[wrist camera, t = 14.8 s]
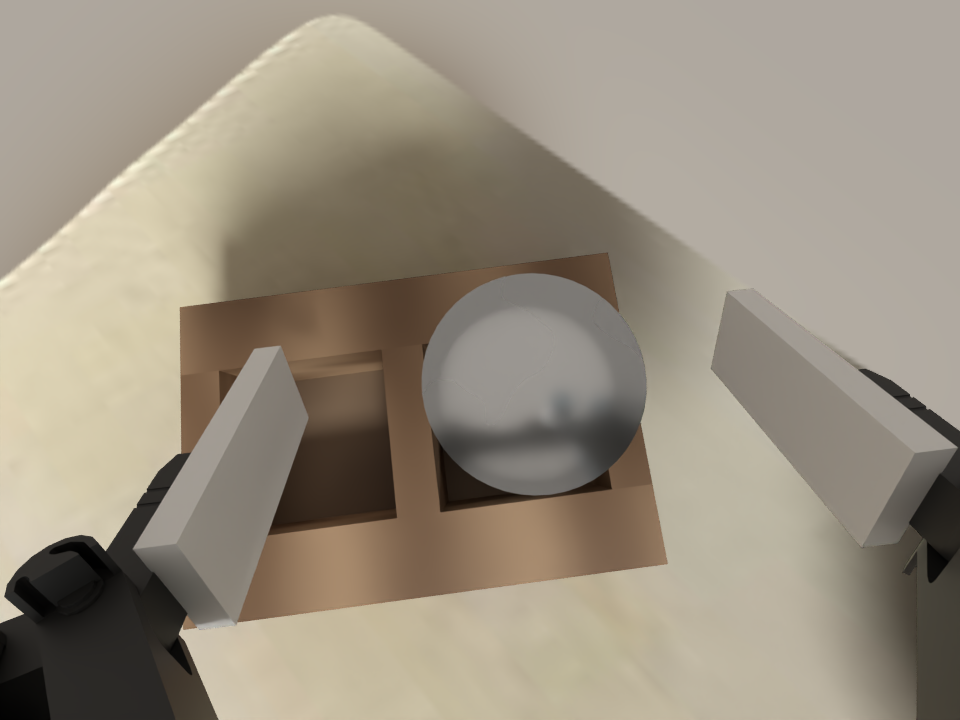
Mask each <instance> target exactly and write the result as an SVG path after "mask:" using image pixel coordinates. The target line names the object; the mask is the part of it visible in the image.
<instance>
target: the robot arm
mask: <svg viewBox="0 0 960 720" xmlns="http://www.w3.org/2000/svg"><path fill="white" fill-rule="evenodd" d="M711 369H712V370H713V372H714V373H715V374H716V375H717V376H718V377H719V379H720V380H721V381H722V382H723V383H724V385H725V386H726V387H727V388H728V389H729V391H730V392H731V393H732V394H733V395H734V397H735V398H736V399H737V400H738V401H739V403H740V404H741V405H742V406H743V407H744V408H745V410H746V411H747V412H748V413H749V414H750V416H751V417H752V418H753V419H754V420H755V422H756V423H757V424H758V425H759V426H760V428H761V429H762V430H763V431H764V432H765V434H766V435H767V436H768V437H769V438H770V439H771V441H772V442H773V443H774V444H775V445H776V447H777V448H778V449H779V450H780V451H781V453H782V454H783V455H784V456H785V457H786V459H787V460H788V461H789V462H790V463H791V464H792V466H793V467H794V468H795V469H796V470H797V472H798V473H799V474H800V475H801V476H802V478H803V479H804V480H805V481H806V482H807V484H808V485H809V486H810V487H811V488H812V490H813V491H814V492H815V493H816V494H817V495H818V497H819V498H820V499H821V500H822V501H823V503H824V504H825V505H826V506H827V507H828V509H829V510H830V511H831V512H832V513H833V515H834V516H835V517H836V518H837V519H838V521H839V522H840V523H841V524H842V525H843V526H844V528H845V529H846V530H847V531H848V532H849V534H850V535H851V536H852V537H853V538H854V540H855V541H856V542H857V543H858V544H859V546H860V547H861V548H864V547H872V546H880V545H888V544H896V543H898V542H899V540H900V539H901V537H902V536H903V534H904V532H905V531H906V529H907V528H908V526H909V525H911V526H912V527H913V528H914V529H915V530H916V531H917V532H918V533H919V534H920V535H921V536H922V537H923V540H922V541H921V543H920V544H919V545H918V547H917V548H916V550H915V551H914V553H913V554H912V556H911V557H910V559H909V560H908V562H907V563H906V565H905V567H904V570H903V572H902V573H905V574H907V575H910V573H911V572H912V570H913V569H914V568H915V567H917V720H960V431H959V430H957V429H956V428H955V427H953V426H952V425H951V424H949V423H948V422H947V421H945V420H944V419H942V418H941V417H940V416H938V415H937V414H936V413H934V412H933V411H932V410H930V409H929V410H927V409H926V406H925V405H924V404H922V403H921V402H920V401H918V400H917V399H916V398H914V397H913V398H911V397H910V394H909V393H907V392H906V391H905V390H903V389H902V388H901V387H899V386H898V385H897V384H895V383H894V382H893V381H891V380H889V379H887V378H885V377H883V376H881V375H878V374H876V373H874V372H872V371H870V370H867V369H860V370H857V369H856V368H855V367H853V366H852V365H851V364H850V363H848V362H847V361H846V360H844V359H843V358H842V357H841V356H839V355H838V354H837V353H835V352H834V351H833V350H832V349H830V348H829V347H828V346H826V345H825V344H824V343H823V342H821V341H820V340H819V339H817V338H816V337H815V336H814V335H812V334H811V333H810V332H808V331H807V330H806V329H805V328H803V327H802V326H801V325H799V324H798V323H797V322H796V321H794V320H793V319H792V318H790V317H789V316H788V315H787V314H785V313H784V312H783V311H781V310H780V309H779V308H778V307H776V306H775V305H774V304H772V303H771V302H770V301H769V300H767V299H766V298H765V297H763V296H762V295H761V294H760V293H758V292H757V291H756V290H754V289H753V288H752V289H743V290H735V291H727V294H726V299H725V303H724V308H723V313H722V318H721V323H720V327H719V332H718V337H717V342H716V347H715V351H714V356H713V361H712V366H711ZM308 418H309V417H308V414H307V412H306V409H305V407H304V404H303V401H302V399H301V396H300V394H299V391H298V389H297V386H296V384H295V381H294V378H293V376H292V373H291V371H290V368H289V366H288V363H287V360H286V358H285V355H284V353H283V350H282V348H281V346H273V347H265V348H257V349H254V350H253V352H252V354H251V355H250V357H249V359H248V360H247V362H246V364H245V365H244V367H243V369H242V370H241V372H240V373H239V375H238V377H237V378H236V380H235V382H234V383H233V385H232V387H231V388H230V390H229V392H228V393H227V395H226V397H225V398H224V400H223V401H222V403H221V405H220V406H219V408H218V410H217V411H216V413H215V415H214V416H213V418H212V420H211V421H210V423H209V424H208V426H207V428H206V429H205V431H204V433H203V434H202V436H201V438H200V439H199V441H198V443H197V444H196V446H195V448H194V449H193V451H192V452H191V453H183V454H177V455H176V456H175V457H174V458H173V459H172V460H171V461H169V462H168V463H167V464H166V465H165V466H164V467H163V468H162V469H160V470H159V471H158V473H157V474H156V476H155V477H154V479H153V481H152V482H151V484H150V485H149V487H148V488H147V493H144V494H143V496H142V497H141V499H140V500H139V502H138V503H137V508H134V509H133V511H132V512H131V514H130V515H129V517H128V518H127V520H126V522H125V523H124V525H123V526H122V528H121V529H120V531H119V532H118V534H117V535H116V537H115V538H114V540H113V541H112V543H111V544H110V546H109V547H108V549H107V550H106V551H105V550H104V549H103V548H102V547H101V546H100V545H99V543H98V542H97V541H96V540H95V539H94V538H93V537H91V536H84V535H79V536H74V537H69V538H65V539H63V540H61V541H58V542H56V543H54V544H52V545H49V546H48V547H46V548H44V549H43V550H41V551H40V552H38V553H37V554H35V555H34V556H32V557H31V558H30V559H29V560H28V561H27V562H26V563H25V564H23V565H22V566H21V567H20V568H19V569H18V570H17V571H16V573H15V574H14V576H13V577H12V578H11V580H10V581H9V583H8V584H7V588H6V592H5V596H4V597H5V598H6V599H7V600H9V601H10V602H11V603H12V604H13V605H14V606H16V607H17V608H18V609H19V610H20V611H22V612H23V613H24V614H23V615H21V616H18V617H15V618H13V619H10V620H8V621H5V622H2V623H0V720H218V718H217V715H216V713H215V711H214V708H213V706H212V704H211V701H210V699H209V697H208V694H207V692H206V690H205V687H204V685H203V683H202V680H201V678H200V676H199V673H198V671H197V669H196V666H195V664H194V662H193V659H192V657H191V655H190V652H189V650H188V648H187V645H186V643H185V641H184V640H183V639H182V638H181V637H180V635H179V632H180V630H181V627H182V625H183V623H184V621H185V618H186V616H188V617H189V618H190V619H191V621H192V622H193V623H194V624H195V625H196V627H197V628H198V629H199V630H203V629H211V628H219V627H227V626H235V625H236V624H237V621H238V618H239V615H240V612H241V610H242V607H243V604H244V601H245V598H246V595H247V592H248V590H249V587H250V584H251V581H252V578H253V575H254V572H255V570H256V567H257V564H258V561H259V558H260V555H261V552H262V550H263V547H264V544H265V541H266V538H267V535H268V533H269V530H270V527H271V524H272V521H273V518H274V515H275V513H276V510H277V507H278V504H279V501H280V498H281V495H282V493H283V490H284V487H285V484H286V481H287V478H288V475H289V473H290V470H291V467H292V464H293V461H294V458H295V455H296V453H297V450H298V447H299V444H300V441H301V438H302V435H303V433H304V430H305V427H306V424H307V421H308Z"/></svg>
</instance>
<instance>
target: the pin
mask: <svg viewBox="0 0 960 720" xmlns="http://www.w3.org/2000/svg"><path fill="white" fill-rule="evenodd" d="M422 396H423V402H424V408H425V411H426V414H427V418H428V421H429V423H430V426H431V428H432V430H433V432H434V434H435V436H436V438H437V439H438V441H439V442H440V444H441V446H442V447H443V449H444V450H445V451H446V452H447V453H448V455H449V456H450V457H451V458H452V459H453V460H454V461H455V462H456V463H457V464H458V465H459V466H460V467H461V468H462V469H463V470H465V471H466V472H467V473H469V474H470V475H472V476H473V477H475V478H476V479H478V480H480V481H482V482H484V483H486V484H487V485H489V486H492V487H495V488H497V489H500V490H503V491H506V492H511V493H516V494H521V495H535V496H536V495H551V494H556V493H561V492H566V491H569V490H572V489H575V488H578V487H580V486H582V485H584V484H586V483H588V482H590V481H592V480H594V479H596V478H597V477H598V476H600V475H601V474H603V473H604V472H606V471H607V470H608V469H609V468H610V467H611V466H612V465H613V464H614V463H615V462H617V461H618V459H619V458H620V457H621V456H622V454H623V453H624V452H625V451H626V450H627V448H628V446H629V445H630V443H631V441H632V440H633V438H634V436H635V434H636V432H637V430H638V427H639V425H640V422H641V419H642V415H643V412H644V407H645V400H646V373H645V365H644V361H643V358H642V354H641V350H640V348H639V346H638V343H637V341H636V338H635V336H634V335H633V333H632V331H631V329H630V328H629V326H628V324H627V323H626V322H625V320H624V319H623V318H622V316H621V315H620V314H619V313H618V312H617V311H616V310H615V309H614V307H613V306H612V305H611V304H610V303H608V302H607V301H606V300H605V299H603V298H602V297H601V296H600V295H598V294H597V293H595V292H594V291H592V290H590V289H589V288H587V287H585V286H583V285H581V284H579V283H577V282H574V281H572V280H569V279H566V278H562V277H559V276H553V275H548V274H536V273H527V274H516V275H510V276H505V277H502V278H498V279H495V280H492V281H490V282H488V283H485V284H483V285H481V286H479V287H477V288H476V289H474V290H472V291H471V292H469V293H468V294H466V295H465V296H464V297H463V298H461V299H460V300H459V301H458V302H456V303H455V304H454V305H453V307H452V308H451V309H450V310H449V311H448V312H447V313H446V314H445V316H444V317H443V318H442V320H441V321H440V323H439V324H438V326H437V327H436V329H435V331H434V333H433V335H432V337H431V339H430V342H429V344H428V347H427V350H426V354H425V358H424V362H423V369H422Z"/></svg>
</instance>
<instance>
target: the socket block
mask: <svg viewBox="0 0 960 720" xmlns="http://www.w3.org/2000/svg"><path fill="white" fill-rule="evenodd" d="M527 273H536V274H548V275H553V276H559V277H562V278H566V279H569V280H572V281H574V282H577V283H579V284H581V285H583V286H585V287H587V288H589V289H590V290H592V291H594V292H595V293H597V294H598V295H600V296H601V297H602V298H603V299H605V300H606V301H607V302H608V303H610V304H611V305H612V306H613V307H614V309H615V310H616V311H617V312H618V313H619V309H618V304H617V298H616V293H615V288H614V283H613V278H612V273H611V267H610V262H609V257H608V253H601V254H593V255H585V256H577V257H569V258H562V259H554V260H546V261H538V262H530V263H522V264H515V265H507V266H499V267H491V268H483V269H476V270H468V271H460V272H452V273H444V274H437V275H429V276H421V277H413V278H405V279H397V280H390V281H382V282H374V283H366V284H358V285H351V286H343V287H335V288H327V289H319V290H312V291H304V292H296V293H288V294H280V295H272V296H265V297H257V298H249V299H241V300H233V301H226V302H218V303H210V304H202V305H194V306H186V307H180V361H181V454H183V453H191V452H192V451H193V449H194V448H195V446H196V444H197V443H198V441H199V439H200V438H201V436H202V434H203V433H204V431H205V429H206V428H207V426H208V424H209V423H210V421H211V420H212V418H213V416H214V415H215V413H216V411H217V410H218V408H219V406H220V405H221V403H222V401H223V400H224V398H225V397H226V395H227V393H228V392H229V390H230V388H231V387H232V385H233V383H234V382H235V380H236V378H237V377H238V375H239V373H240V372H241V370H242V369H243V367H244V365H245V364H246V362H247V360H248V359H249V357H250V355H251V354H252V352H253V350H254V349H257V348H265V347H273V346H281V348H282V350H283V353H284V355H285V358H286V360H287V363H288V366H289V368H290V371H291V373H292V376H293V378H294V381H295V384H296V386H297V389H298V391H299V394H300V396H301V399H302V401H303V404H304V407H305V409H306V412H307V414H308V417H309V418H308V421H307V424H306V427H305V430H304V433H303V435H302V438H301V441H300V444H299V447H298V450H297V453H296V455H295V458H294V461H293V464H292V467H291V470H290V473H289V475H288V478H287V481H286V484H285V487H284V490H283V493H282V495H281V498H280V501H279V504H278V507H277V510H276V513H275V515H274V518H273V521H272V524H271V527H270V530H269V533H268V535H267V538H266V541H265V544H264V547H263V550H262V552H261V555H260V558H259V561H258V564H257V567H256V570H255V572H254V575H253V578H252V581H251V584H250V587H249V590H248V592H247V595H246V598H245V601H244V604H243V607H242V610H241V612H240V615H239V618H238V621H237V622H244V621H251V620H259V619H266V618H273V617H281V616H288V615H295V614H303V613H310V612H317V611H325V610H332V609H340V608H347V607H354V606H362V605H369V604H376V603H384V602H391V601H399V600H406V599H413V598H421V597H428V596H435V595H443V594H450V593H457V592H465V591H472V590H480V589H487V588H494V587H502V586H509V585H516V584H524V583H531V582H539V581H546V580H553V579H561V578H568V577H575V576H583V575H590V574H597V573H605V572H612V571H620V570H627V569H634V568H642V567H649V566H656V565H664V564H668V563H667V558H666V553H665V547H664V542H663V537H662V532H661V527H660V521H659V516H658V511H657V506H656V501H655V496H654V490H653V485H652V480H651V475H650V470H649V464H648V459H647V454H646V449H645V444H644V439H643V433H642V428H641V423H640V425H639V427H638V430H637V432H636V434H635V436H634V438H633V440H632V441H631V443H630V445H629V446H628V448H627V450H626V451H625V452H624V453H623V454H622V456H621V457H620V458H619V459H618V461H617V462H615V463H614V464H613V465H612V466H611V467H610V468H609V469H608V470H607V471H606V472H604V473H603V474H601V475H600V476H598V477H597V478H596V479H594V480H592V481H590V482H588V483H586V484H584V485H582V486H580V487H578V488H575V489H572V490H569V491H566V492H561V493H556V494H551V495H536V496H535V495H521V494H516V493H511V492H506V491H503V490H500V489H497V488H495V487H492V486H489V485H487V484H486V483H484V482H482V481H480V480H478V479H476V478H475V477H473V476H472V475H470V474H469V473H467V472H466V471H465V470H463V469H462V468H461V467H460V466H459V465H458V464H457V463H456V462H455V461H454V460H453V459H452V458H451V457H450V456H449V455H448V453H447V452H446V451H445V450H444V449H443V447H442V446H441V444H440V442H439V441H438V439H437V438H436V436H435V434H434V432H433V430H432V428H431V426H430V423H429V421H428V418H427V414H426V411H425V408H424V402H423V396H422V369H423V362H424V358H425V354H426V350H427V347H428V344H429V342H430V339H431V337H432V335H433V333H434V331H435V329H436V327H437V326H438V324H439V323H440V321H441V320H442V318H443V317H444V316H445V314H446V313H447V312H448V311H449V310H450V309H451V308H452V307H453V305H454V304H455V303H456V302H458V301H459V300H460V299H461V298H463V297H464V296H465V295H466V294H468V293H469V292H471V291H472V290H474V289H476V288H477V287H479V286H481V285H483V284H485V283H488V282H490V281H492V280H495V279H498V278H502V277H505V276H510V275H516V274H527ZM192 628H197V627H196V625H195V624H194V623H193V622H192V621H191V619H190V618H189V617H188V616H186V618H185V621H184V623H183V630H185V629H192Z"/></svg>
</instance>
